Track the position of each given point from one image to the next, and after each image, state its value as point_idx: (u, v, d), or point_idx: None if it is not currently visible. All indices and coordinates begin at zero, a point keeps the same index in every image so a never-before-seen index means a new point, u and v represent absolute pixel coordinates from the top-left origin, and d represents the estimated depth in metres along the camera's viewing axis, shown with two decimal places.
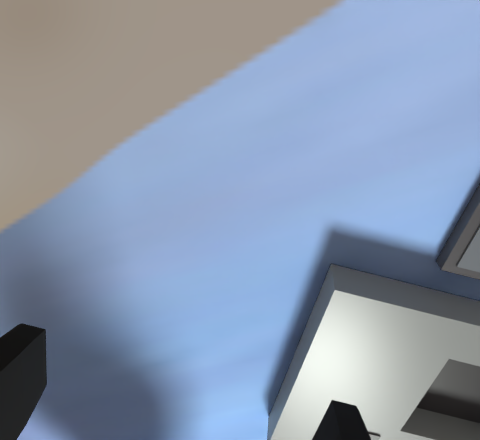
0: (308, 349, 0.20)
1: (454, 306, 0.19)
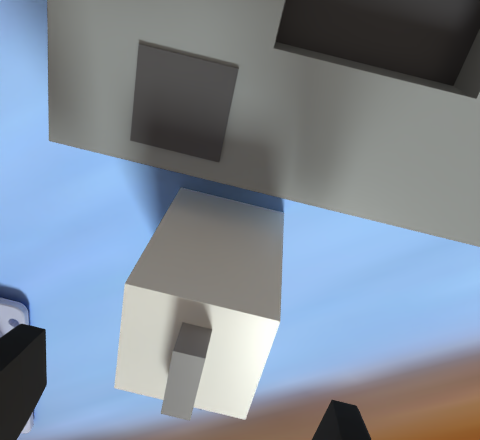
0: None
1: None
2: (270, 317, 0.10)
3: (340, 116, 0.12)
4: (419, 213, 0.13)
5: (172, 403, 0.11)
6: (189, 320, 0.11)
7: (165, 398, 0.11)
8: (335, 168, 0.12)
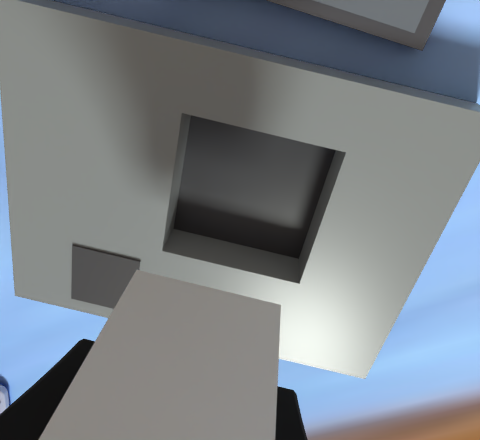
0: (4, 117, 0.15)
1: (185, 36, 0.14)
2: None
3: None
4: None
5: None
6: None
7: None
8: None
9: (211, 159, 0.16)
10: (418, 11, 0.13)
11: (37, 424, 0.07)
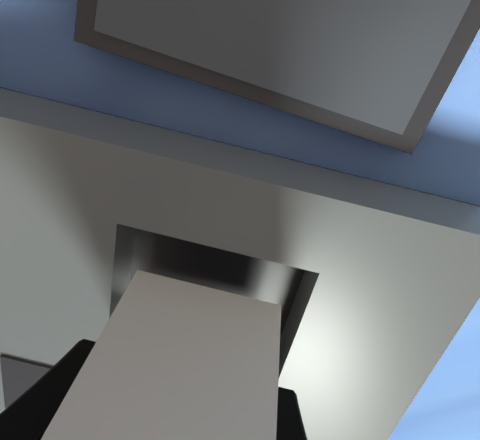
0: None
1: (121, 130, 0.11)
2: None
3: None
4: None
5: None
6: None
7: None
8: None
9: (164, 258, 0.14)
10: (407, 110, 0.10)
11: (37, 424, 0.07)
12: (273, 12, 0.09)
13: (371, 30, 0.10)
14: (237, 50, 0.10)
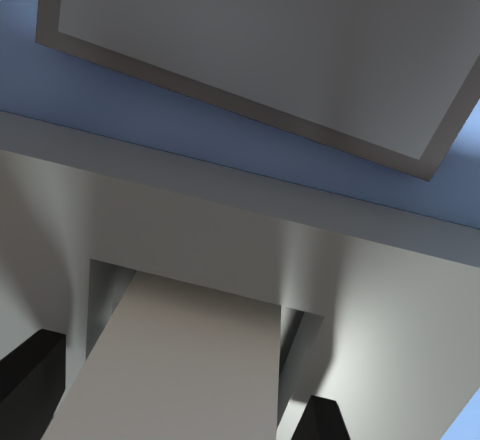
0: None
1: (94, 150, 0.09)
2: None
3: None
4: None
5: None
6: None
7: None
8: None
9: None
10: (426, 131, 0.09)
11: None
12: (270, 14, 0.08)
13: (386, 38, 0.08)
14: (227, 58, 0.08)
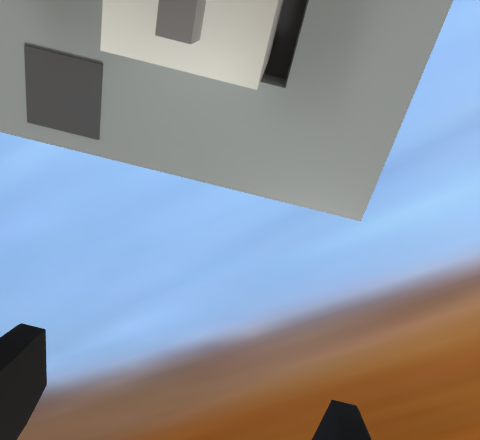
0: None
1: None
2: None
3: (186, 102, 0.15)
4: (260, 181, 0.16)
5: (168, 12, 0.09)
6: None
7: (160, 2, 0.09)
8: (189, 144, 0.16)
9: None
10: None
11: None
12: None
13: None
14: None
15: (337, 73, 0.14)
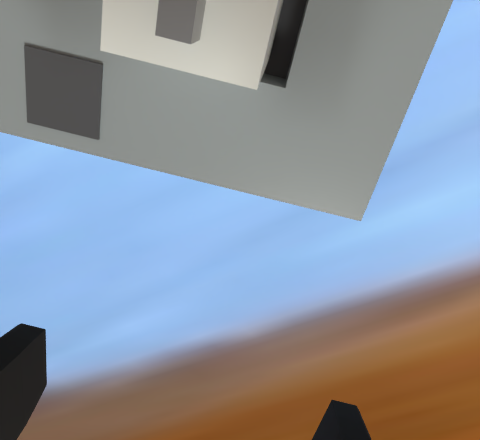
0: None
1: None
2: None
3: (186, 102, 0.15)
4: (260, 181, 0.16)
5: (168, 12, 0.09)
6: None
7: (160, 2, 0.09)
8: (189, 144, 0.16)
9: None
10: None
11: None
12: None
13: None
14: None
15: (337, 73, 0.14)
